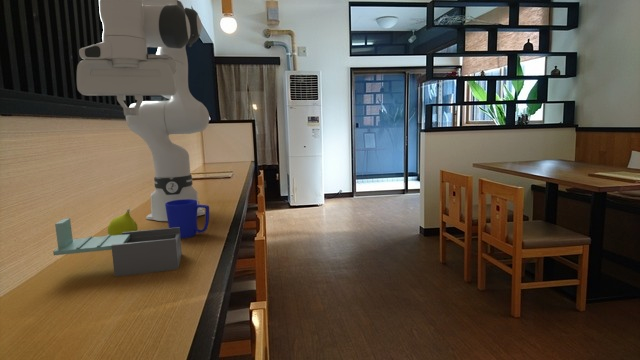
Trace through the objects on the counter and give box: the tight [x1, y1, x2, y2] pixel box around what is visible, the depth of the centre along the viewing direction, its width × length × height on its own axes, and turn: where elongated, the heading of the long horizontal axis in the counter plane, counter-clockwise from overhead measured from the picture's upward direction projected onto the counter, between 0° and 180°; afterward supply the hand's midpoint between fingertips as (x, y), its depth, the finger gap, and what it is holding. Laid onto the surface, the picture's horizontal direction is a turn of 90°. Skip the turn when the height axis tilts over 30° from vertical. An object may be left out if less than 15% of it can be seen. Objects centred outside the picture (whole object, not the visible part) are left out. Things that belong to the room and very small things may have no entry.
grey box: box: [111, 227, 183, 278], centre depth 82 cm, size 10×12×7 cm
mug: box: [165, 199, 210, 239], centre depth 103 cm, size 8×12×10 cm
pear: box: [107, 207, 139, 236], centre depth 101 cm, size 7×7×10 cm
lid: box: [52, 218, 130, 256], centre depth 78 cm, size 8×12×6 cm
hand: (131, 115), depth 87 cm, fingers closed
